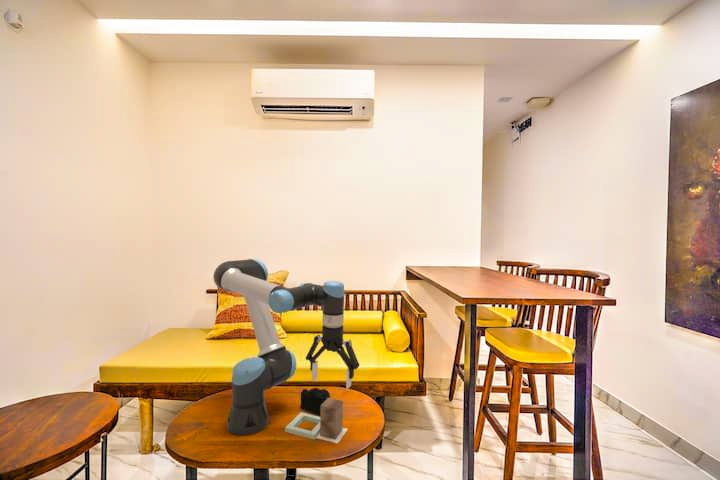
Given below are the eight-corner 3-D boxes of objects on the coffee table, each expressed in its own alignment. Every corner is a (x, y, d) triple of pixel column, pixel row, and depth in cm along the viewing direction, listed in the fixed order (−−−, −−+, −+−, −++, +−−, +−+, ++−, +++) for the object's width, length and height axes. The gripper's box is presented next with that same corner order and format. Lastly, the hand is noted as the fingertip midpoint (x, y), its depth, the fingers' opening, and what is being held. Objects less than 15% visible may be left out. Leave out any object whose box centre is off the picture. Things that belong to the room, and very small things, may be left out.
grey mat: (314, 438, 119) (314, 437, 119) (326, 425, 127) (326, 423, 127) (337, 445, 115) (337, 443, 115) (347, 430, 124) (347, 429, 124)
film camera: (340, 408, 139) (340, 387, 139) (325, 419, 131) (325, 397, 131) (312, 398, 147) (312, 378, 147) (297, 408, 139) (297, 386, 139)
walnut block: (320, 435, 120) (320, 405, 119) (327, 426, 125) (328, 397, 125) (335, 439, 117) (335, 408, 117) (342, 430, 123) (342, 400, 123)
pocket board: (285, 432, 122) (285, 427, 122) (301, 417, 132) (301, 412, 132) (314, 440, 118) (314, 435, 118) (328, 424, 128) (328, 418, 128)
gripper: (297, 323, 121) (295, 380, 122) (361, 332, 112) (359, 395, 113) (307, 317, 128) (306, 372, 129) (369, 326, 119) (367, 385, 120)
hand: (331, 383), depth 121 cm, fingers open, 13 cm apart
